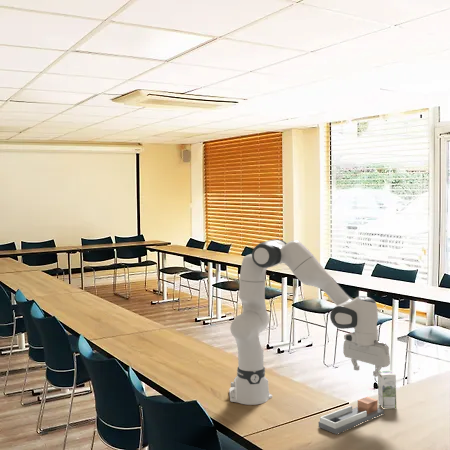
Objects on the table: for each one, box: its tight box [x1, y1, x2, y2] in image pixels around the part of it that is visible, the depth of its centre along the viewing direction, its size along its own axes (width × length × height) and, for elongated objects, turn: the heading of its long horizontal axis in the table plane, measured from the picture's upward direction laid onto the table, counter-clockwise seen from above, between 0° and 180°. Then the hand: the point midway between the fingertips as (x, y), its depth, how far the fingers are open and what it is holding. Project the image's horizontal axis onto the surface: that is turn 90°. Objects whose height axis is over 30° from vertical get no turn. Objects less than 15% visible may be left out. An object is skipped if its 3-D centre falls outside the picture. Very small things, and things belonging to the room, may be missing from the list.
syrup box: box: [377, 370, 397, 409], centre depth 233 cm, size 6×6×14 cm
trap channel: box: [318, 405, 385, 435], centre depth 220 cm, size 28×9×4 cm, turn 128°
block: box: [357, 396, 379, 414], centre depth 226 cm, size 6×5×4 cm
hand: (366, 372), depth 225 cm, fingers open, 8 cm apart
